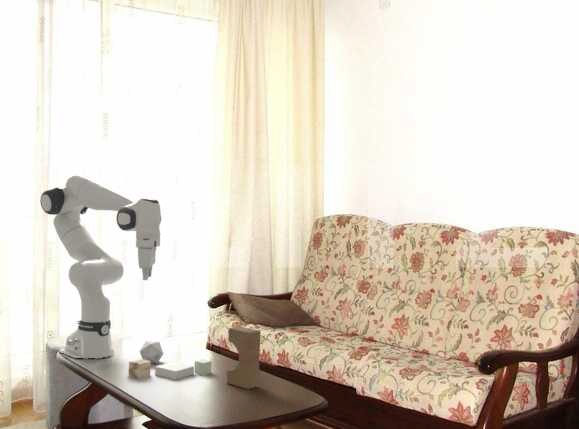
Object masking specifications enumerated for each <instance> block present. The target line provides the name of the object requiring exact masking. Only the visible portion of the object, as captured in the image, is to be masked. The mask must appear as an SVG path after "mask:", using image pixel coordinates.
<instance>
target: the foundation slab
mask: <svg viewBox="0 0 579 429" xmlns="http://www.w3.org/2000/svg"><path fill="white" fill-rule="evenodd" d="M154 368H155V372H154V374H155V376H160V377H164V378H167V379H170V380H171V379H172V380H179V379H182V378H185V377H189V376H192V375H195V373H194V369H195V365H190V364H185V363H181V362H177V361H172V362H168V363H164V364H159V365H156V366H155V367H154Z"/></svg>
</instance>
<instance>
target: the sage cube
mask: <svg viewBox="0 0 579 429" xmlns="http://www.w3.org/2000/svg"><path fill="white" fill-rule="evenodd" d="M212 363H213V361H212V360H209V359H204V358H203V359H198V360H194V374H198V375H201V376H202V375H203V376H205V375H208V374H211V373H212V365H213V364H212Z"/></svg>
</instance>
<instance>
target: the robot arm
mask: <svg viewBox="0 0 579 429" xmlns="http://www.w3.org/2000/svg"><path fill="white" fill-rule="evenodd" d="M160 205H161V204H160V202H159V201H158V199H156V198H153V197H145V196H144V197H143V196H142V197H139V198H138V199H137V200H134V199H132V198H130V197H128V196H126V195H123V194H121V193H119V192H118V191H116V190H114V189H112V188H110V187H108V186H107V185H105V184H103V183H102V182H100V181H99V180H96V179H94V178H92V177H90V176H87V175H85V174H81V173H75V174H71V176H69V177H68V179H67V180H66V183H65V185H63V186H59V187H57V186H56V187H52V188H49V189H47V190H44V191H43V192H42V194H41V196H40V206H41V209H42V211H44V213H46V214H47V215H52V216H53V215H54V218H53V226H54V228H55V232H56V233H57V236H58V238H59V239H60V241H61V243H62V245H63V247H64V249H65V250H66V251H67V253H68V254H69V256H70V257H71V258H72V259H73V260H76V261H77V262H75V263H72V265H71V266H70V267H69V270H68V278H69V281H70V283H71V285H72V286H74V287H75V288H76V290H77V291H78V294H79V298H80V304H81V311H80V312H81V314H80V315H81V318H80V320H77V321H76V325H77V329H76V330H74V331H73V332H72V333H70V334H69V336H67V337H66V341H65V347H63V348H60V349H59V351H58V352H59V353H61V354H63V353H64V354H63V355H65V354H66V355H65V356H68V355H69V356H68V357H70V356H71V358H73V357H74V358H73V359H75V358H83V359H88V358H95V359H104V358H103V357H105V358H108V356H109V357H112V354H113V352H114V348H113V346H112V345H113V344H112V334H111V325H112V324H111V323H112V322H111V319H110V317H111V316H110V313H111V311H110V309H111V301H110V299H109V298H108V297H107V296H105V295H104V291H103V286H106V285H107V286H108V285H112V284H114V283H116V282H119V281H120V280H121V279H122V278H123V275H124V266H123V264H122V262H121V261H120V260H118V259H117V258H115V257H112V256H111V255H109V254H108V253H107V252H106V251H105V250H104V249H102V248H101V246H99V244H97V242H95V240H94V238H93V237H92V235H91V234H90V232H89V231H88V230H87V227H86V226H85V224H84V223H83V222H82V220H81V217H80V216H81V215H84V214H86V213H87V210H88V209H91V210H94V211H113V212H114V211H115V212H117V213H116V224H117V226H118V227H119V229H120V230H121V231H125V232H136V233H135V247H136V248H137V260H138V267H139V269H141V271H142V272H141V273H142V280H143V281H148V280H149V278H151V277H152V271H153V265H154V264H155V263H156V251H157V248H158V247H160V246H161V231H160V230H161V229H160V225H161V223H162V214H161V212H162V211H161V206H160Z"/></svg>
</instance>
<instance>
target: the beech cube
mask: <svg viewBox="0 0 579 429" xmlns="http://www.w3.org/2000/svg"><path fill="white" fill-rule="evenodd" d="M151 364H152V363H151V361H148V360H144V359H142V358H137V359H133V360H129V361H128V377H131V378H134V379H138V380H140V379H144V378H147V377H150V376H151Z"/></svg>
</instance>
